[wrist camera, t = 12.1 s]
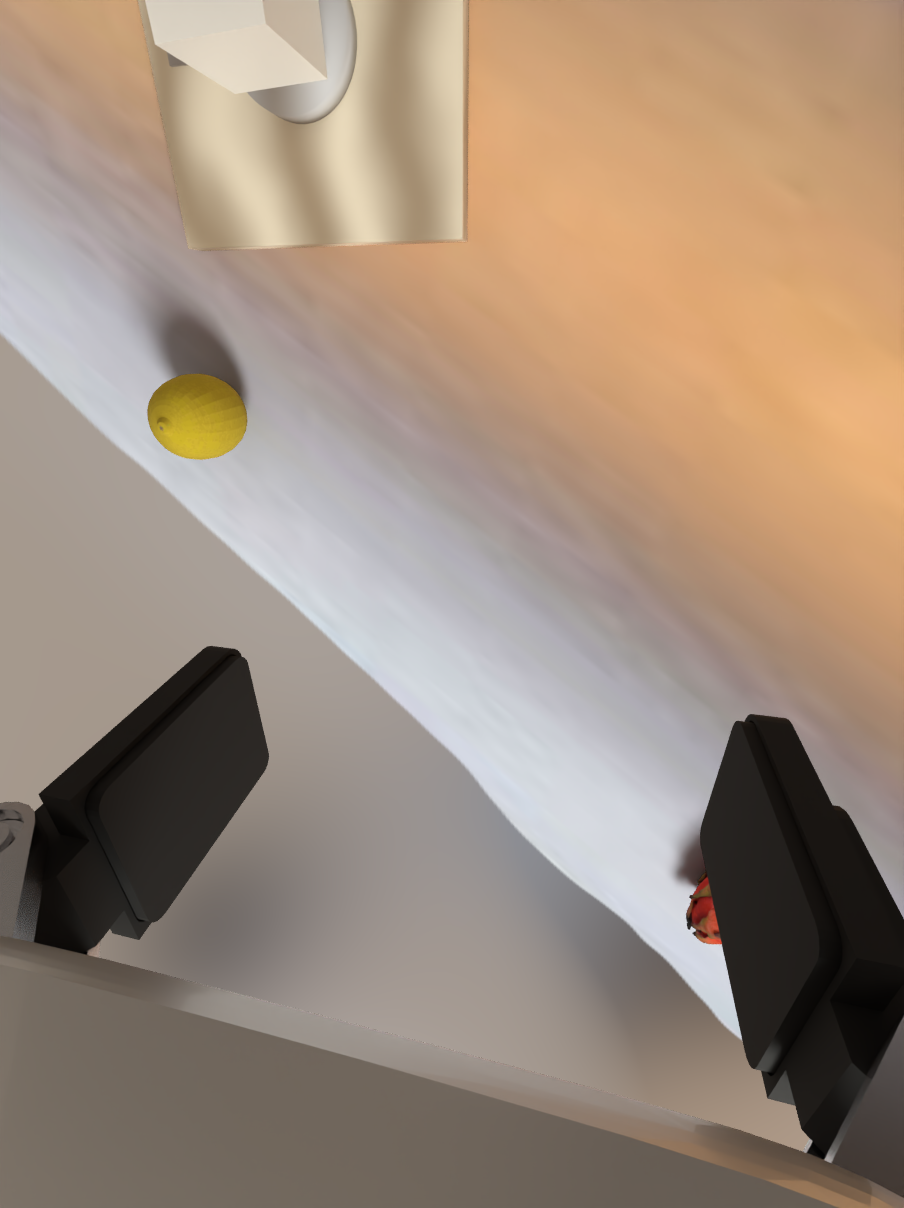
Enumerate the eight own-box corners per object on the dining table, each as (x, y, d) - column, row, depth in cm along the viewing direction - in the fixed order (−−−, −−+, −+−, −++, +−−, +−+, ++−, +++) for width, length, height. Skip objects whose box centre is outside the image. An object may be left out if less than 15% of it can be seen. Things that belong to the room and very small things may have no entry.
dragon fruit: (806, 843, 50) (687, 864, 57) (775, 846, 45) (648, 869, 52) (852, 950, 46) (718, 958, 53) (825, 968, 41) (679, 974, 48)
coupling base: (470, -249, 24) (450, -344, 20) (467, 241, 32) (453, 233, 29) (120, -174, 27) (53, -245, 24) (202, 250, 36) (161, 244, 32)
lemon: (187, 382, 40) (105, 397, 33) (245, 358, 38) (171, 368, 32) (222, 453, 42) (152, 481, 36) (279, 434, 41) (217, 459, 34)
